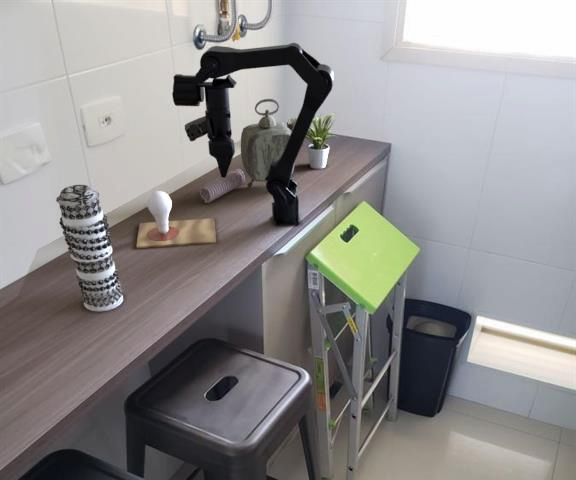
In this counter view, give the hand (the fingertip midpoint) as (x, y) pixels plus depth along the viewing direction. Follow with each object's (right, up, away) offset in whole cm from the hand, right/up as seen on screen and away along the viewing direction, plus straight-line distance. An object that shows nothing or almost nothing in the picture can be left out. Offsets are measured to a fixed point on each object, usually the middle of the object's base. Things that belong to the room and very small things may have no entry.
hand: (222, 170), depth 153 cm
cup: (+20, +29, +55) cm, 66 cm away
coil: (-2, +1, +22) cm, 22 cm away
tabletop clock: (+12, +3, +24) cm, 27 cm away
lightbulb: (-15, -16, +1) cm, 22 cm away
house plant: (+27, +16, +40) cm, 51 cm away
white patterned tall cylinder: (-23, -37, -24) cm, 50 cm away
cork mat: (-12, -16, +1) cm, 20 cm away
